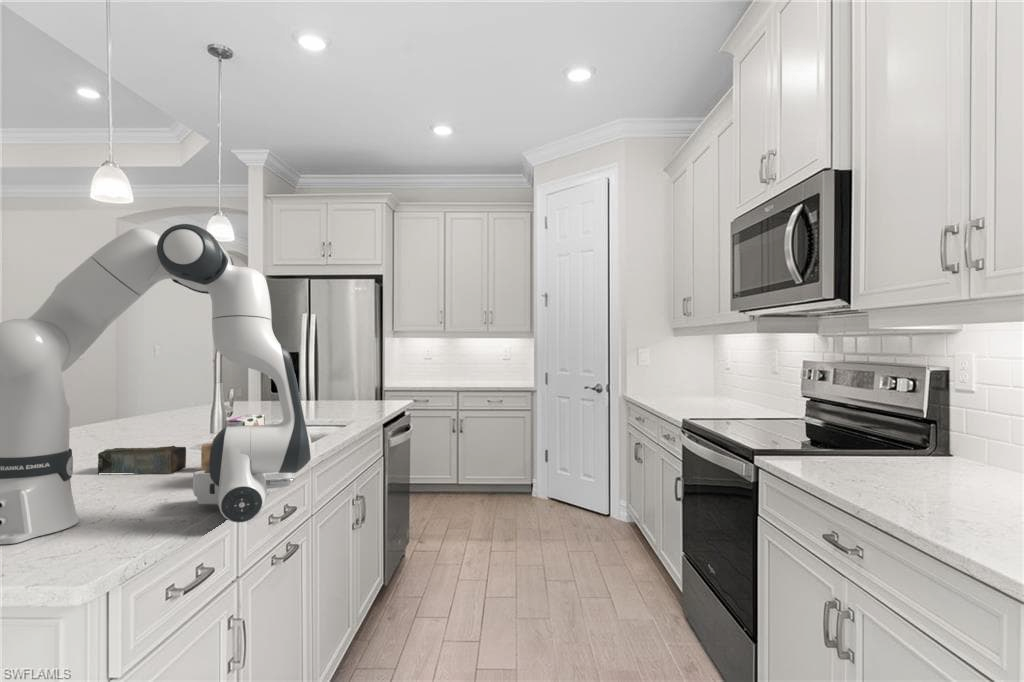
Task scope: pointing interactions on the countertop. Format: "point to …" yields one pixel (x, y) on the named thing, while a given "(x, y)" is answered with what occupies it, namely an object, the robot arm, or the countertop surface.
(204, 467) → the wooden block
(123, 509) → the countertop surface
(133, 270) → the robot arm
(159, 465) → the beverage carton
